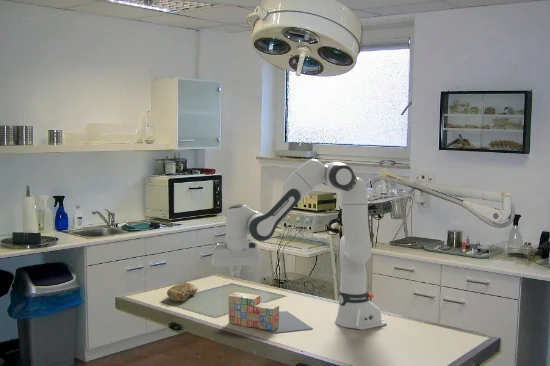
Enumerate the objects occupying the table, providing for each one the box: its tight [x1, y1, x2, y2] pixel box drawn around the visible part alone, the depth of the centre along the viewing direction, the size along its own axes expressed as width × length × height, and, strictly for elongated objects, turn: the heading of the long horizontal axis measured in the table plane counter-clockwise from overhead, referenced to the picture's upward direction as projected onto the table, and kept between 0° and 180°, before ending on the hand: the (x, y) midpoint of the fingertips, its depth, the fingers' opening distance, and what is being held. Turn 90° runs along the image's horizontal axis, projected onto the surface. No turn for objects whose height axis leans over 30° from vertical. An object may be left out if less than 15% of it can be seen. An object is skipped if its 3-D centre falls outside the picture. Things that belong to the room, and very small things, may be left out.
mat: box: [269, 310, 314, 334], centre depth 271 cm, size 18×26×1 cm
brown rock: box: [166, 281, 199, 303], centre depth 302 cm, size 13×8×20 cm
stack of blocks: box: [228, 291, 280, 332], centre depth 264 cm, size 21×6×12 cm, turn 62°
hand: (234, 276), depth 259 cm, fingers closed
